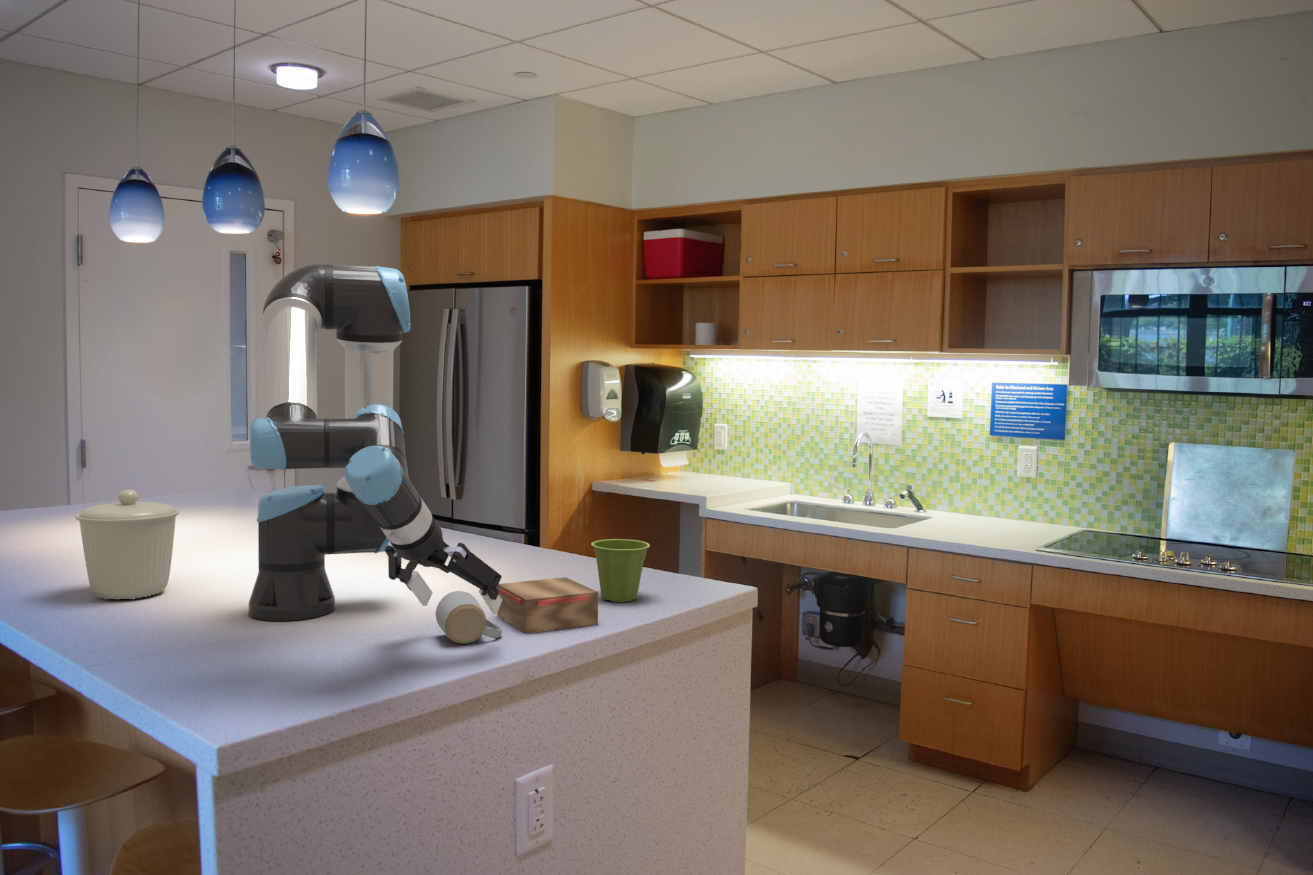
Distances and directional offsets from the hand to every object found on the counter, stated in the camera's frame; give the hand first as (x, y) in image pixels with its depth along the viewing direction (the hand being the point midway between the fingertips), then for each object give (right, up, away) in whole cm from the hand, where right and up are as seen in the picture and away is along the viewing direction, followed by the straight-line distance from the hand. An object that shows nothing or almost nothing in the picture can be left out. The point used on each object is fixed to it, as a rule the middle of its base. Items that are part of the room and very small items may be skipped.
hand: (462, 603), depth 164 cm
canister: (-72, -3, +29) cm, 78 cm away
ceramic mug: (+1, -7, +2) cm, 7 cm away
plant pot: (+26, -5, +32) cm, 41 cm away
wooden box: (+13, -6, +14) cm, 20 cm away
